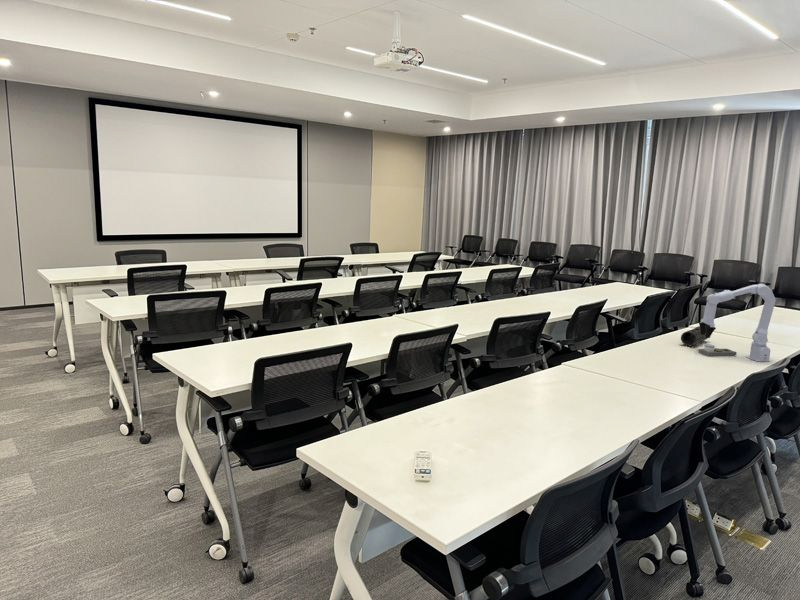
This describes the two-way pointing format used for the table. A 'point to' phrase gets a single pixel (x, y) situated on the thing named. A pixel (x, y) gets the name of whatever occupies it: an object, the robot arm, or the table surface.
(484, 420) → the table surface
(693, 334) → the muzzle brake
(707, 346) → the grey plug
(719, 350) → the socket board
